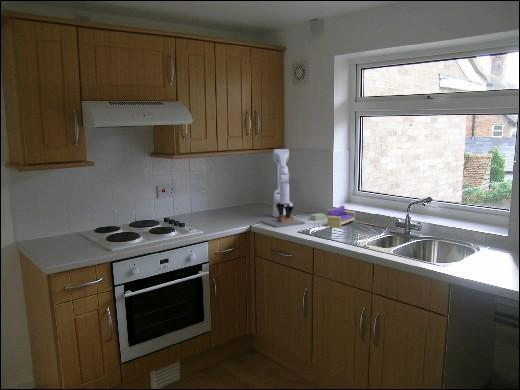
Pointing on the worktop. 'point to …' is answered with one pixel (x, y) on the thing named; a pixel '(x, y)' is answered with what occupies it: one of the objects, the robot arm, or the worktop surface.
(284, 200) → the robot arm
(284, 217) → the walnut block
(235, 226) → the worktop surface
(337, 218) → the toy sofa
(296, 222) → the baseplate
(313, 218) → the sage block
